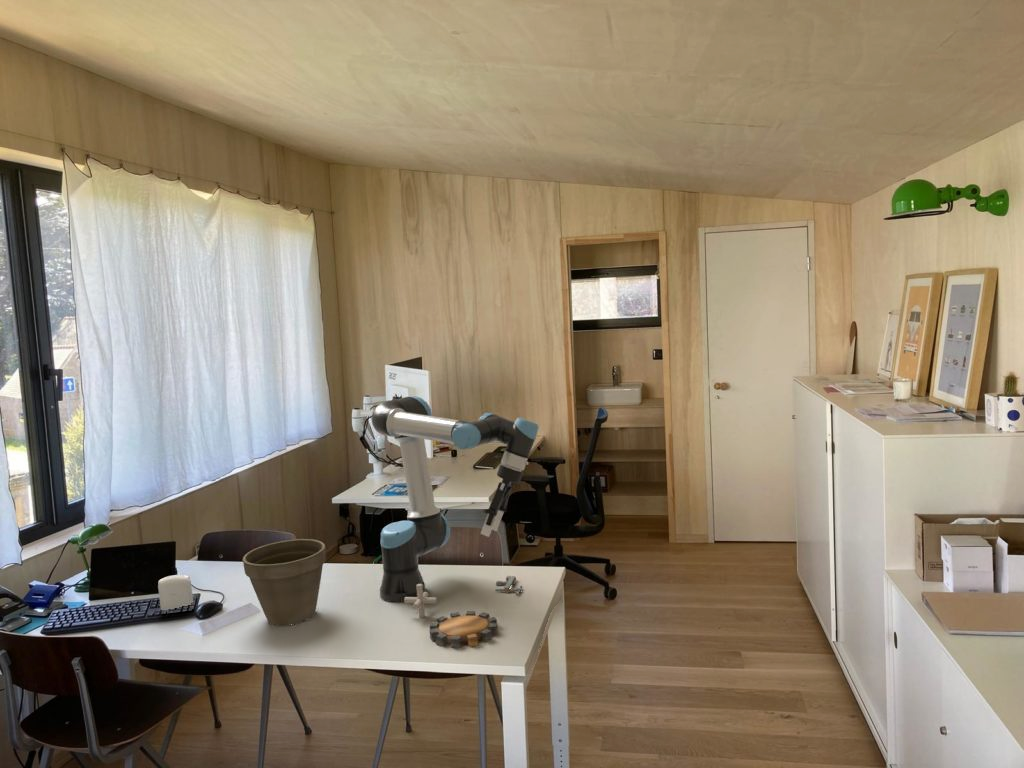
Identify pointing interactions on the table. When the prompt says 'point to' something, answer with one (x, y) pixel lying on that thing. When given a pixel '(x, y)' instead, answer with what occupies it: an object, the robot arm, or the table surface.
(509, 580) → the clamp
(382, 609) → the table surface
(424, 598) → the pipe connector
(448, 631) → the sprocket wheel
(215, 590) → the table surface
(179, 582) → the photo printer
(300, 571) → the plant pot
